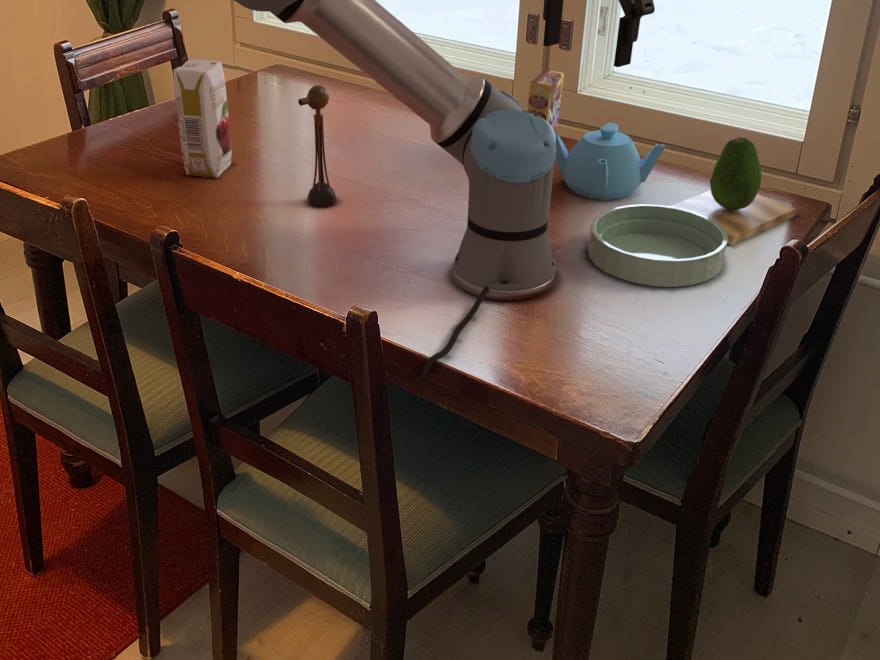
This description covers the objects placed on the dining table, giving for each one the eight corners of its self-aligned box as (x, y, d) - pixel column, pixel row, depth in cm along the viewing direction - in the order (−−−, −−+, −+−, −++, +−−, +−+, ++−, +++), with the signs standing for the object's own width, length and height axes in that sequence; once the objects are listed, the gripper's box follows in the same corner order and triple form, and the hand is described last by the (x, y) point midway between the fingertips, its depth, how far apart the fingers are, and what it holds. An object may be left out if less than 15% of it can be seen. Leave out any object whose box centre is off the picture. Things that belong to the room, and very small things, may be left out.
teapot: (663, 194, 177) (673, 134, 171) (596, 210, 171) (604, 149, 165) (607, 166, 188) (614, 108, 182) (542, 180, 182) (547, 122, 175)
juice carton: (180, 176, 182) (166, 70, 171) (199, 159, 189) (187, 56, 178) (219, 180, 181) (208, 73, 170) (236, 163, 188) (227, 59, 177)
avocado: (713, 195, 173) (727, 127, 166) (759, 205, 169) (775, 135, 162) (699, 211, 167) (712, 141, 160) (746, 222, 164) (762, 150, 157)
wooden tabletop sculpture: (313, 211, 170) (307, 93, 158) (297, 202, 173) (291, 85, 161) (341, 202, 173) (337, 86, 161) (325, 194, 176) (321, 79, 164)
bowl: (665, 302, 144) (670, 274, 142) (561, 253, 157) (563, 226, 155) (748, 262, 155) (754, 235, 153) (644, 219, 168) (648, 194, 165)
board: (731, 245, 160) (733, 237, 159) (660, 217, 169) (662, 209, 168) (794, 216, 169) (796, 208, 169) (724, 191, 178) (726, 183, 177)
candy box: (543, 167, 187) (551, 85, 178) (521, 164, 188) (527, 82, 179) (556, 152, 194) (564, 71, 185) (535, 148, 195) (542, 68, 186)
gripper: (698, -101, 128) (671, 69, 140) (554, -122, 143) (541, 32, 156) (660, -95, 124) (636, 79, 136) (517, -117, 140) (506, 40, 152)
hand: (585, 54), depth 146 cm, fingers open, 13 cm apart
